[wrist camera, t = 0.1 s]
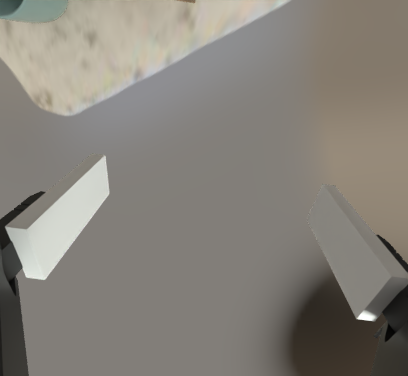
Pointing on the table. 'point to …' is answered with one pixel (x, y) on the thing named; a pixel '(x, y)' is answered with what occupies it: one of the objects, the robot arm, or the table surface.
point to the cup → (32, 10)
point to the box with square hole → (188, 1)
